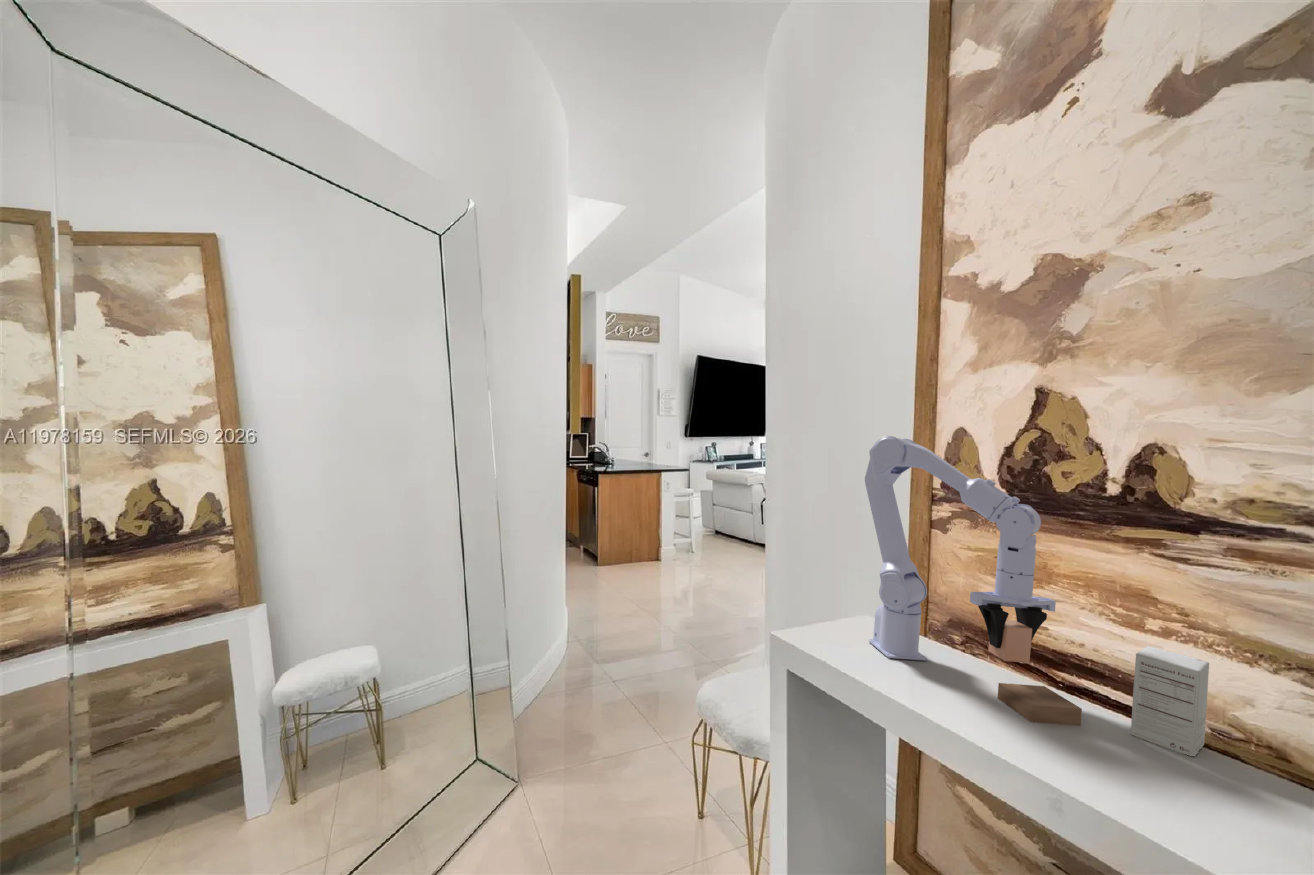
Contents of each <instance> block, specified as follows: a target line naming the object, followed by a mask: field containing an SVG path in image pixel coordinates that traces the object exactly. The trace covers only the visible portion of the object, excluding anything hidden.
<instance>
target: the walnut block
mask: <svg viewBox="0 0 1314 875" xmlns="http://www.w3.org/2000/svg"><path fill="white" fill-rule="evenodd" d="M997 699H998V700H999V701H1000V702H1001V703H1004V704H1005V705H1006V706H1007V707H1009V708H1010V709H1011V710H1013V711H1014V712H1015V713H1017V714H1019V715H1020V716H1022V717H1023V718H1024V719H1026V720H1027V721H1028V722H1030V723H1040V724H1054V725H1056V724H1057V725H1069V726H1081V725H1082V724H1081V723H1082V713H1083V712H1082V710H1083V709H1082V707H1080V706H1078V705H1077V704H1075V703H1073V702H1071V701H1070V700H1069V699H1067V698H1065V697H1063V696H1062V695H1059V694H1058V693H1056V692H1055V691H1053V690H1051V689H1050V688H1049V687H1047V686H1045V685H1031V684H1018V683H1006V682H998V685H997Z"/></svg>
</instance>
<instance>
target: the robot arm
mask: <svg viewBox="0 0 1314 875" xmlns="http://www.w3.org/2000/svg"><path fill="white" fill-rule="evenodd" d="M868 453H869V460H868V464H867V468H866V472H865V476H864V484H865V489H866V492H867V498H868V502H869V506H870V510H871V515H872V519H873V524H874V528H875V532H876V537H877V541H878V546H879V550H880V555H881V559H882V565H881V568H880V571H879V578H880V585H879V590H878V592H879V593H878V594H879V598H880V600H881V602H882V603H881V604H880V605H879V606H878V607H877V609H876V610H875V614H874V625H873V635H872V637H873V638H871V639H868V642H869V643H870V644H871V645H873V646H874V647H875V648H876V649H877V650H878V651H879V652H881V653H882V654H883V655H884V656H886V658H889V659H898V660H911V661H912V660H913V661H928V658H927V657H926V656H925V655H923V654H922V653H921V652H920V651H919V647H920V633H921V619H922V618H921V617H922V608H921V604H922V603H923V602H924V601H925V599H926V598H927V595H928V589H927V584H926V583H925V581H924V580H923V579H922V578H921V576H920V575H919V571H918V568H917V566H916V565H915V563H914V562H913V561H912V560H911V556H910V553H909V548H908V545H907V538H906V535H905V532H904V528H903V524H902V519H901V514H900V512H899V506H898V503H897V499H896V495H895V494H896V493H895V490H894V484H895V483H896V481H897V480H898V478H900V476H901V475H902V474H903V473H904V472H906V471H907V470H909V469H911V468H916V469H922V470H925V472H927V473H929V474H930V475H931V476H934V477H935V478H937V479H938V480H940V481H942V482H943V483H945V484H946V485H948V486H950V487H951V488H953V489H955V491H958V493H959V496H960V499H961V500H960V501H961V502H962V503H963V504H965V505H966V506H967V507H969V508H971V509H972V510H973V511H975V512H976V513H977V514H979V515H981V516H983V517H984V518H985V519H986V520H988V521H989V522H991V523H995V525H996V527H997V530H998V531H999V543H998V545H997V557H996V558H997V559H996V570H995V581H994V582H995V583H994V591H970V596H969V602H970V603H971V604H973V605H975V606H978V609H979V611H980V613H981V615H982V618H983V620H984V622H985V627H986V630H987V635H988V643H989V642H990V645H992V646H994V647H996V648H1001V644H1002V638H1003V630H1004V626H1005V622H1006V620H1008V617H1009V615H1010V614H1009V612H1007V611H1005V610H1003V609H1004V608H1003V607H1006V608H1014V610H1015V617H1016V621H1017V622H1019V623H1021V624H1023V625H1026V626H1028V627H1030V628H1032V639H1031V643H1032V641H1033V639H1034V637H1035V635H1036V634H1037V631H1038V630H1039V628H1040V627H1041V626H1042V624H1043V623H1044V622H1045V621H1046V620H1047V618H1048V613H1047V612H1044V611H1048V612H1056V606H1057V605H1056V602H1057V601H1056V600H1054V599H1052V598H1049V597H1045V596H1044V597H1041V596H1035V595H1033V594H1034V592H1033V591H1034V580H1035V579H1034V578H1035V569H1036V568H1035V567H1036V556H1037V555H1036V554H1037V548H1036V545H1037V535H1036V533H1037V532H1039V530H1040V528H1041V525H1042V520H1041V516H1040V514H1039V513H1038V512H1037V511H1036V510H1035V509H1034V508H1033V507H1032V506H1031V505H1029V504H1024V503H1019V502H1021V500H1020V498H1018V497H1017V496H1011V495H1009V494H1007V493H1006V492H1004V491H1003V490H1001V489H1000V488H998V487H996V484H997V483H996V482H995V481H993V479H990V478H989V479H984V478H983V477H977V478H970V477H969V476H967V475H966V474H964V473H963V472H962V471H961V470H958V469H957V468H956V467H955V466H953V464H951V463H949V462H948V461H946V460H945V459H943V458H942V457H940V456H939V455H937V454H936V453H935V452H933V451H932V450H930V449H929V448H927V447H925V446H923V445H921V444H917V443H916V442H915V441H913V440H912V439H908V438H899V437H896V436H891V435H886V436H882V437H880V438H879V439H878V440H877V441H875V443H874V444H873V446H872V447H871V448H870V449H869V451H868ZM1042 610H1043V611H1042Z"/></svg>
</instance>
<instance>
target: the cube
mask: <svg viewBox="0 0 1314 875" xmlns="http://www.w3.org/2000/svg"><path fill="white" fill-rule="evenodd" d="M1031 639H1032V628H1030V627H1028V626H1026V625H1023V624H1021V623H1019V622H1017V620H1014V619H1007V620H1006V622H1005V626H1004V630H1003V638H1002V644H1001V648H996V647H994V646H992V645H990V642H989V641H988V649H987V651H988V652H989V653H990V654H992V655H994V656H996V657H998V658H999V659H1000V660H1002V661H1004V662H1015V663H1027V664H1029V663H1031V662H1030V659H1031V649H1032V642H1031ZM1032 640H1033V639H1032Z"/></svg>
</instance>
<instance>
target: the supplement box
mask: <svg viewBox="0 0 1314 875" xmlns="http://www.w3.org/2000/svg"><path fill="white" fill-rule="evenodd" d="M1209 670H1210V662H1208V661H1206V660H1203V659H1200V658H1197V657H1192V656H1188V655H1184V654H1180V653H1176V652H1172V651H1168V650H1164V649H1161V648H1157V647H1153V646H1146V647H1144V648H1143V649H1141V650H1140V651H1137V652H1136V653H1135V665H1134V677H1133V678H1134V679H1133V690H1132V691H1133V693H1132V708H1131V720H1130V721H1131V724H1130V725H1131V726H1130V735H1132V736H1133V737H1136V738H1138V739H1141V740H1144V741H1146V742H1150V743H1152V744H1155V745H1157V746H1160V747H1163V748H1166V749H1169V750H1172V751H1174V752H1176V753H1180V754H1182V755H1185V754H1188V755H1191V756H1195V755H1196V754H1197V753H1198V754H1199V752H1200V751H1199V749H1201V750H1202V748H1203V746H1204V745H1205V738H1206V737H1205V736H1206V735H1205V734H1206V718H1207V707H1208V706H1207V704H1208V689H1209V673H1210V671H1209ZM1198 751H1199V752H1198ZM1198 754H1197V755H1198ZM1197 755H1196V756H1197ZM1196 756H1195V757H1196Z"/></svg>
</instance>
